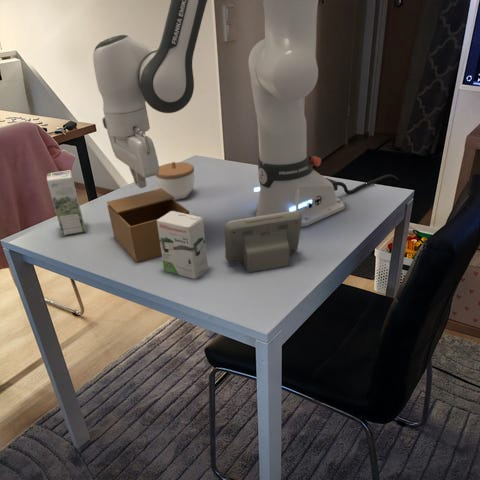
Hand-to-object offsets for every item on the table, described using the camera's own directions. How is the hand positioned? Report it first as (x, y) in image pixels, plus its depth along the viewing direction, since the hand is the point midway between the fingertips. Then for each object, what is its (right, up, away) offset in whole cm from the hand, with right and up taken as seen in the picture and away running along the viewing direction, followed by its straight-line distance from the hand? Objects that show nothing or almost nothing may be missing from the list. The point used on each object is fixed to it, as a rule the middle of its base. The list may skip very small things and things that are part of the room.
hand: (140, 186), depth 120 cm
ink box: (+11, -20, -8) cm, 24 cm away
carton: (+2, -12, +4) cm, 13 cm away
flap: (-1, -3, +3) cm, 4 cm away
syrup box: (-19, -8, +13) cm, 25 cm away
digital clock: (+28, -18, -7) cm, 34 cm away
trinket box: (+5, +4, +29) cm, 30 cm away
